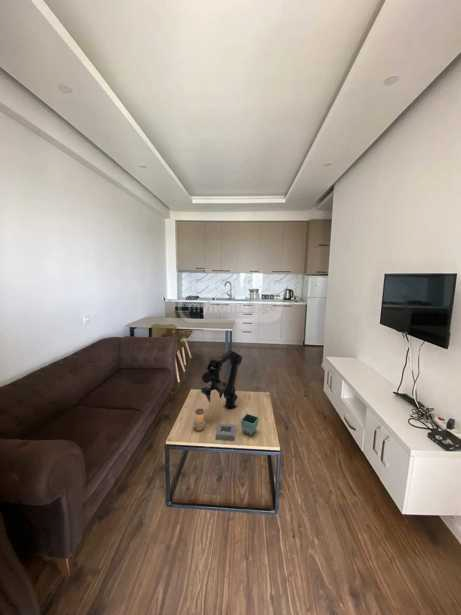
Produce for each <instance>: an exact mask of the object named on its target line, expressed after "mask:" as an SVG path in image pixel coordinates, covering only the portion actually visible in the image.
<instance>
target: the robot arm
mask: <svg viewBox="0 0 461 615" xmlns="http://www.w3.org/2000/svg"><path fill="white" fill-rule="evenodd" d="M229 360H230V361H229ZM228 361H229V362H230V371H229V376H228V380H227V381H228V382H225V381H222V380H221V379H220V376H221V375H220V374H221V373H220V372H221V371H222V367H223V364H224V363H225V362H228ZM242 361H243V357H242V354H239V353H237V352H235V351H233V350H228V351H227V352H225V353H223V354H222V355H221V356H219V357H214V358H211V359H210V360H209V363H208V365H207V367H206V371H204V373H203V374H202V376H201V380H202V381H203V383H205V384H208V383H209V382H210V384H209V387H208V386H205V387H202V388H201V393H202V394H203V395H205V397H206V400H207V401H208V402H209V403H210V402H211V395H212V391H215V390H216V391H217V393H218V396H219V399H222V397H224V399H225V404H224V407H225V408H227V409H229V410H232V409H235V408H237V405H236V401H237V400H238V395H237V394H236V388H235V385H236V384H235V383H236V378H237V374H238V368H239V367H240V365H241V364H242Z"/></svg>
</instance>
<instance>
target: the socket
mask: <svg viewBox="0 0 461 615" xmlns="http://www.w3.org/2000/svg"><path fill="white" fill-rule="evenodd" d="M235 438H236V424H227V423H217V428H216V433H215V440H221V441H222V440H223V441H235Z"/></svg>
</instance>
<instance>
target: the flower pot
mask: <svg viewBox="0 0 461 615" xmlns="http://www.w3.org/2000/svg"><path fill="white" fill-rule="evenodd" d="M259 420H260V417H258V416H256V415H253V414H249V413H245V415H244V416H243V417H242V418H241V420H240V425H241V430H242V432H243V434H246V435H250V436H253V434H254V433H255V432H256V430H257V428H258V425H259Z"/></svg>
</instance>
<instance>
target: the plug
mask: <svg viewBox="0 0 461 615" xmlns="http://www.w3.org/2000/svg"><path fill="white" fill-rule="evenodd" d="M204 412H205V409H202V408H196V409H195V412H194V413H195V419H194V421H193V426H194V427H195V430H196V431H197V432H201V431H203V430H204V427H205V426H206V420H205V419H204Z"/></svg>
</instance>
